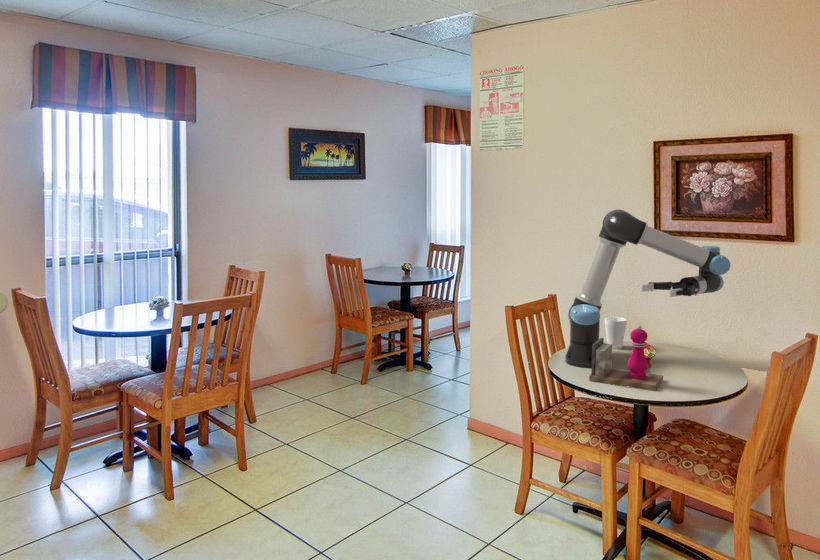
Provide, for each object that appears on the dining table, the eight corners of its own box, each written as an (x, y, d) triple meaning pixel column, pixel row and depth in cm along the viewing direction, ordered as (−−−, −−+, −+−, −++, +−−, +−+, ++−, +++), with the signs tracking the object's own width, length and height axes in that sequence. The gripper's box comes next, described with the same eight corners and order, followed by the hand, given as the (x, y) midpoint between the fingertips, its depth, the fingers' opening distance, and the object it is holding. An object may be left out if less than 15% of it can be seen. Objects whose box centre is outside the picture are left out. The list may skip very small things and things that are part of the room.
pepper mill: (623, 374, 242) (625, 323, 239) (642, 373, 243) (644, 322, 240) (632, 380, 235) (634, 327, 232) (650, 379, 236) (653, 326, 233)
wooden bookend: (589, 380, 242) (590, 345, 240) (599, 371, 254) (600, 336, 251) (655, 391, 229) (657, 353, 227) (663, 380, 241) (664, 344, 239)
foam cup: (608, 343, 295) (608, 315, 293) (628, 346, 289) (629, 318, 287) (601, 347, 287) (602, 319, 285) (621, 350, 282) (622, 322, 280)
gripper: (718, 299, 249) (681, 305, 239) (666, 290, 271) (630, 295, 261) (719, 280, 248) (682, 286, 238) (667, 272, 269) (631, 277, 260)
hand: (655, 290), depth 249 cm, fingers open, 13 cm apart
